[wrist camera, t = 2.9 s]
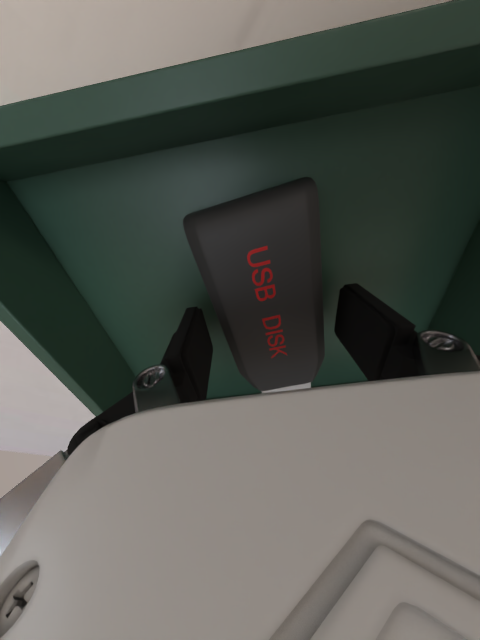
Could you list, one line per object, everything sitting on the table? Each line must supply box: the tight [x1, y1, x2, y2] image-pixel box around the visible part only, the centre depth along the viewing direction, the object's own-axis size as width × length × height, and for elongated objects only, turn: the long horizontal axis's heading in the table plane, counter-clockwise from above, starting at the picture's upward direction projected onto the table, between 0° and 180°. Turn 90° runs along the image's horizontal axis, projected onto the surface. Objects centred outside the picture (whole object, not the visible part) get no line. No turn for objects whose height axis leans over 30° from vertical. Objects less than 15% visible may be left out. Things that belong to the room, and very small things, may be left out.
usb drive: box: [183, 177, 325, 393], centre depth 11 cm, size 5×12×3 cm, turn 15°
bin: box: [0, 0, 480, 417], centre depth 11 cm, size 22×17×4 cm
